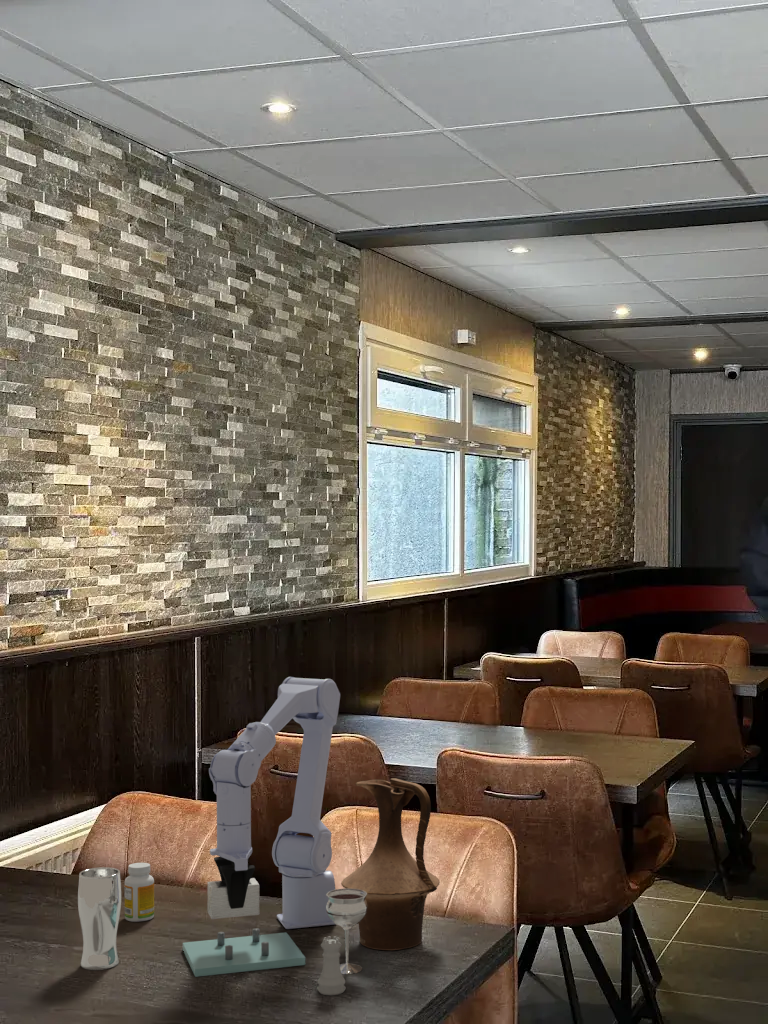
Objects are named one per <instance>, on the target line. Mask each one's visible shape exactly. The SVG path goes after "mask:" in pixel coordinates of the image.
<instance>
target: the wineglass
mask: <svg viewBox="0 0 768 1024" xmlns="http://www.w3.org/2000/svg"><path fill="white" fill-rule="evenodd" d="M326 895H327V897H328V899H329V900H328V901H327V905H326V912H327V914H328V917H329V918H330V919H331V920H332V921H333V922H334V923H335V924H334V925H337V926H340V927H341V928H342V930H344V943H345V944H344V946H345V963H341V964H340V963H339V964H340V970H341V973H342V974H343V975H352V974H357V973H359V972H361V971H362V970H363V967H362V966H361V965H359V964H355V963H350V962H349V955H350V954H349V952H350V951H349V950H350V930H351V929H352V928H353V927H355V926H357V925H359V922H360V921H361V920H362V919H363V918H364V917H365V916H366V913H367V907H368V905H367V901H366V900H365V898H366V896H367V892H365V891H363V890H359V889H351V888H348V889H345V888H337V889H336V888H335V890H332V891H329V892H328V893H327V894H326Z"/></svg>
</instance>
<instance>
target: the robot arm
mask: <svg viewBox="0 0 768 1024" xmlns="http://www.w3.org/2000/svg"><path fill="white" fill-rule="evenodd" d="M340 700H341V692H340V690H339V688H338V686H337V683H336V682H335V681H334V680H333V679H331V678H325V679H322V678H321V679H320V678H306V677H305V678H303V677H294V676H288V677H286V678H285V679H284V680H283V681H282V683H281V684H280V685H279V686H278V688H277V699H275V700H274V703H273V704H272V706H271V707H270V708H269V710H268V711H267V712H266V713H265V715H264V716H263V718H262V719H261V720H260V721H255V722H249V723H248V724H247V725H246V727H245V729H244V730H243V732H241V734H240V735H239V736H238V737H237V738H236V740H234V742H233V743H232V744H231V745H230V746H229V747H228V748H227V749H221V750H220V751H218V752H217V753H215V754H214V756H213V757H212V758H211V761H210V767H209V768H208V774H209V778H210V781H212V785H213V789H212V790H213V792H214V794H215V795H216V848H210V849H209V854H210V856H215V857H213V860H214V863H215V864H216V867H217V869H218V872H219V876H220V881H224V880H225V882H226V886H227V893H228V900H229V905H230V908H231V909H235V908H243V906H244V902H245V898H246V892H247V888H248V884H249V881H250V879H251V878H252V877H253V875H254V872H255V870H256V867H255V865H254V864H252V865H251V864H250V865H249V863H248V862H249V858H250V856H252V853H253V847H252V822H251V821H252V809H251V808H252V802H251V801H252V800H251V799H252V791H251V788H252V786H251V785H252V784H253V783H255V782H256V779H257V777H258V772H259V770H260V768H261V765H262V761H263V760H264V759H265V758H266V756H267V755H268V754H269V753H270V752H271V751H272V749H274V747H275V745H276V743H277V738H276V735H277V734H278V733H279V732H281V730H282V729H283V728H285V726H286V725H287V724H288V723H289V722H290V721H292V720H293V721H294V722H296V724H299V725H300V726H301V728H302V729H303V734H302V735H303V736H302V744H301V750H300V757H299V764H298V769H297V770H298V771H297V776H296V784H295V791H294V798H293V803H292V804H293V805H292V812H291V816H290V817H289V818H288V819H286V820H285V821H284V822H282V823H280V824H279V826H278V831H277V834H276V838H275V840H274V841H273V844H272V850H271V856H272V860H273V863H274V865H275V866H276V867H278V872H279V873H281V876H282V877H281V880H282V881H281V883H282V884H281V886H282V887H281V888H282V892H281V893H282V897H281V898H282V901H281V902H282V913H278V914H276V918H277V919H278V921H279V922H280V923H281V924H282V926H283V927H284V928H285V930H292V929H301V928H309V927H310V928H311V927H321V926H330V925H336V924H335V923H334V922H333V921H332V920H331V919H330V918H329V917H328V914H327V912H326V905H327V901H328V900H329V899H328V897H327V895H326V894H327V893H328V892H329V891H332V890H336V881H335V876H334V874H333V871H331V870H327V869H328V868H329V866H330V864H331V862H332V857H333V850H332V831H331V830H330V829H329V828H328V827H327V826H326V825H325V823H324V822H323V821H322V820H321V814H322V807H323V799H324V793H325V787H326V781H327V780H326V778H327V772H328V771H327V770H328V765H329V758H330V757H329V756H330V751H331V750H330V749H331V744H332V735H333V728H334V726H336V725H337V721H338V715H339V708H340ZM300 833H301V834H309V835H311V836H308V835H307V836H306V835H300Z"/></svg>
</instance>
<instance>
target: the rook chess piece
mask: <svg viewBox="0 0 768 1024" xmlns="http://www.w3.org/2000/svg"><path fill="white" fill-rule="evenodd" d="M342 946H343V944H342V943H341V942H340V937H338V936H337V935H336V936H333V937H332V936H331V935H329V936H327V937H323V938H322V942H321V944H320V947H321V949H322V950H323V953H322V958H323V961H322V962H323V963H322V970H321V973H320V975H319V978H318V980H317V985H318V986H317V987H316V989H317V992H318V993H319V994H320V995H324V996H330V997H331V996H338V995H341V994H343V993H344V992H345V990H346V988H347V987H346V986H345V984H346V979H345V977H344V976H343V975H344V974H342V973H341V970H340V957H341V953H340V949H341V947H342Z"/></svg>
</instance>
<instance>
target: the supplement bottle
mask: <svg viewBox="0 0 768 1024" xmlns="http://www.w3.org/2000/svg"><path fill="white" fill-rule="evenodd" d="M127 872H128V874H129V875H128V876H127V877H125V879H124V919H125V920H126V921H129V922H132V923H133V922H134V923H138V922H139V923H140V922H146V921H149V920H152V919H153V918H155V917H154V916H155V879H154V877H153V876H152V875H151V874H150V873H151V864H150V863H148V862H135V863H130V864H129V865H128V868H127Z"/></svg>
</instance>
